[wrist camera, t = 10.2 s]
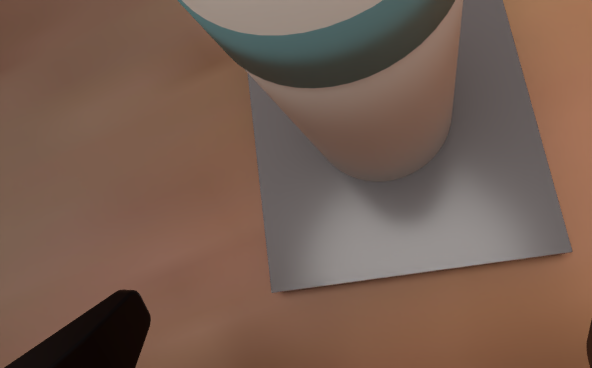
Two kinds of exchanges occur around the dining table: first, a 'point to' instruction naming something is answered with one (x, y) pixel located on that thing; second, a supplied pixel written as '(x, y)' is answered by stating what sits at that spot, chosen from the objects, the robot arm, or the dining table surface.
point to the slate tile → (417, 183)
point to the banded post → (350, 73)
